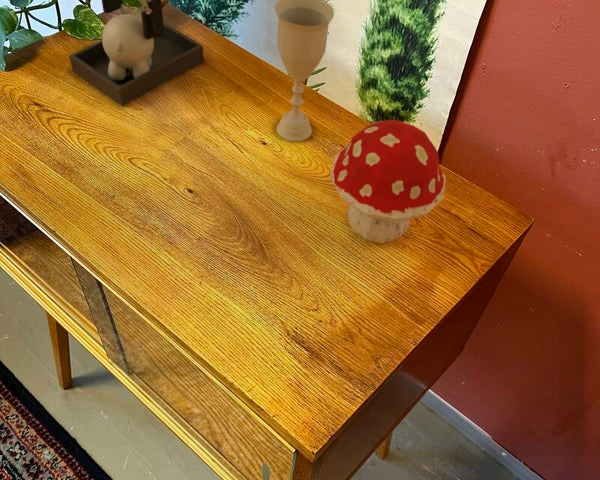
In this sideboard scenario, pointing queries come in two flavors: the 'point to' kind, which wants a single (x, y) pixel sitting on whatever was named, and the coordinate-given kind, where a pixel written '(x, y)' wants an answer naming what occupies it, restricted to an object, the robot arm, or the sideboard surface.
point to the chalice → (300, 54)
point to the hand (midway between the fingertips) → (133, 21)
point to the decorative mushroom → (388, 179)
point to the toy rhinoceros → (127, 44)
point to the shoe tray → (165, 65)
